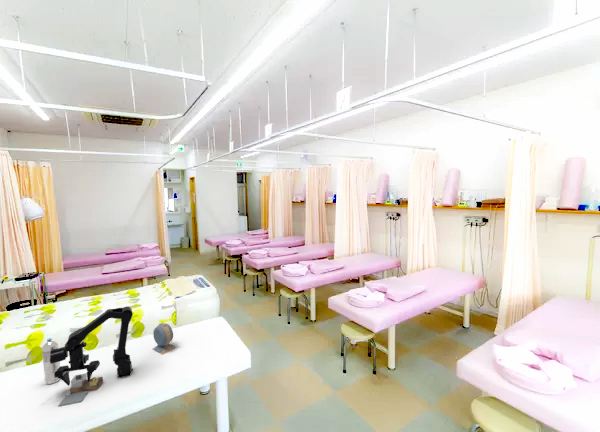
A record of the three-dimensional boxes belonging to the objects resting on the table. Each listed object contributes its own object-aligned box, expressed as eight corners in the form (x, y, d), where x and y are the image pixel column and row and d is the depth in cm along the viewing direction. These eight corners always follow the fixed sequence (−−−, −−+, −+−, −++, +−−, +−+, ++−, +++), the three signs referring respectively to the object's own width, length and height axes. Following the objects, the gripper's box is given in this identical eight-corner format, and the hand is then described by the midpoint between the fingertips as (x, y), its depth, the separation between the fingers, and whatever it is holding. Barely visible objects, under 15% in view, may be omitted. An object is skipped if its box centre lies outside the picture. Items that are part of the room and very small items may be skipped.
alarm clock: (176, 347, 188) (175, 323, 186) (163, 355, 180) (161, 329, 178) (164, 342, 195) (163, 318, 194) (151, 348, 187) (149, 324, 186)
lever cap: (86, 380, 152) (86, 372, 152) (82, 386, 147) (81, 378, 147) (76, 382, 151) (75, 374, 150) (71, 388, 146) (70, 380, 146)
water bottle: (48, 386, 152) (43, 343, 150) (43, 382, 156) (39, 340, 153) (63, 379, 158) (59, 337, 156) (59, 375, 161) (54, 334, 159)
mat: (88, 391, 147) (88, 390, 147) (81, 401, 140) (81, 400, 140) (66, 396, 145) (66, 394, 144) (58, 406, 137) (58, 405, 137)
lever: (98, 381, 151) (98, 375, 150) (96, 385, 148) (95, 379, 148) (92, 382, 150) (91, 376, 150) (89, 386, 147) (89, 380, 147)
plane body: (103, 381, 155) (102, 376, 155) (98, 389, 149) (98, 383, 149) (75, 386, 151) (75, 381, 151) (70, 394, 146) (69, 389, 145)
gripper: (102, 345, 158) (104, 370, 159) (63, 351, 153) (66, 377, 154) (94, 356, 147) (96, 383, 149) (52, 362, 142) (55, 390, 143)
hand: (79, 383), depth 149 cm, fingers open, 9 cm apart
